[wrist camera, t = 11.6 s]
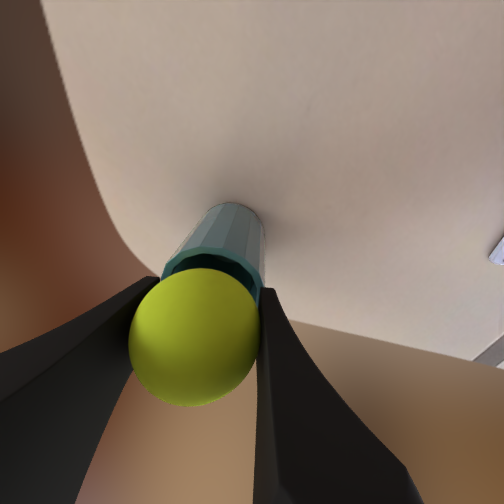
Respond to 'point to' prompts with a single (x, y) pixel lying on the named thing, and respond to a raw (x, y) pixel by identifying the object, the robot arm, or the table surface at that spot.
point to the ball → (194, 337)
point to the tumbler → (225, 247)
